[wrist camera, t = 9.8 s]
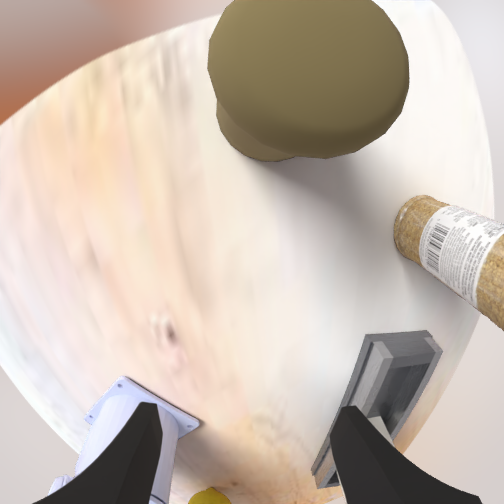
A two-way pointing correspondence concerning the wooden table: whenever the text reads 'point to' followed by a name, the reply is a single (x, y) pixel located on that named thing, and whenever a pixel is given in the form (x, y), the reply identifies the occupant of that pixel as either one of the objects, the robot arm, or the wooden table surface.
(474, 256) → the sprinkles bottle
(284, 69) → the cork
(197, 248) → the wooden table surface
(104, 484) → the robot arm
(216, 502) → the lemon
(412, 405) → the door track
